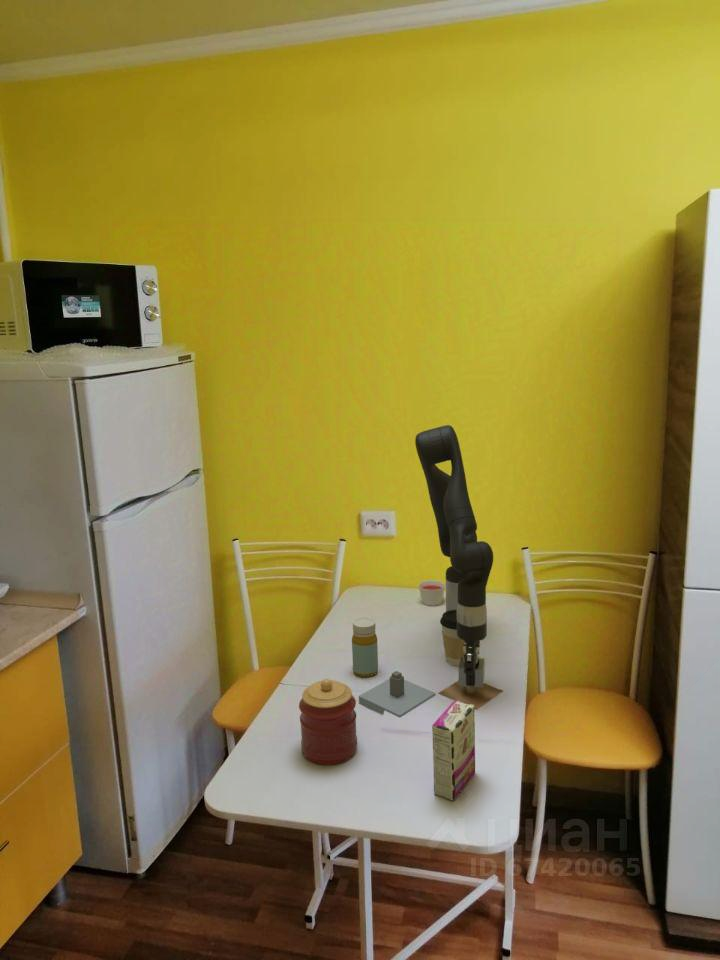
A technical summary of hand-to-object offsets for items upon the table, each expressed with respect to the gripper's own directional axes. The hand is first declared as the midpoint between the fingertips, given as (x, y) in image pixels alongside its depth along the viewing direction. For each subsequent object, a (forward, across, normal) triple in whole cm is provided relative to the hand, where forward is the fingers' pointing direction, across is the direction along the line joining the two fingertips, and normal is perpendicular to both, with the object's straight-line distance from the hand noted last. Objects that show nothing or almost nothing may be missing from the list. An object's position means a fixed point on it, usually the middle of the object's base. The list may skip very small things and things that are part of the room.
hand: (471, 678), depth 186 cm
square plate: (+5, +6, -18) cm, 20 cm away
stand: (+5, 0, 0) cm, 5 cm away
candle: (+6, -61, -19) cm, 64 cm away
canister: (+5, +29, -30) cm, 42 cm away
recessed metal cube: (+1, 0, 0) cm, 1 cm away
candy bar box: (+5, +36, 0) cm, 36 cm away
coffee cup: (+5, -17, -5) cm, 18 cm away
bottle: (+5, -8, -30) cm, 32 cm away
